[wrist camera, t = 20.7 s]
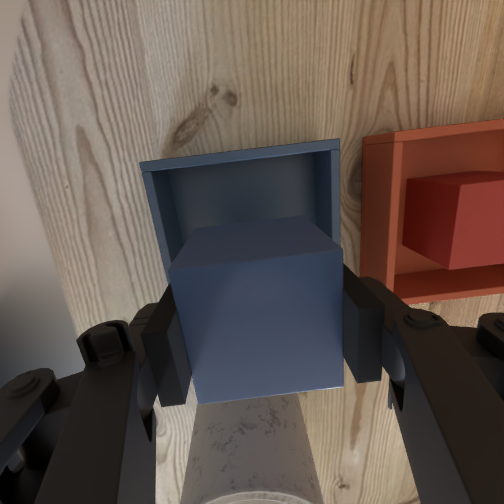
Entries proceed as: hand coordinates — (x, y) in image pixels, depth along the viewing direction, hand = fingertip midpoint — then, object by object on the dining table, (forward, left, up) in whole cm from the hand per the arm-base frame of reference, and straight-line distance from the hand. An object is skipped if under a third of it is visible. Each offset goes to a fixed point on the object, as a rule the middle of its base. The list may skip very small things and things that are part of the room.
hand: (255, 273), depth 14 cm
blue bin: (0, 0, -9) cm, 9 cm away
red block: (0, +15, -8) cm, 18 cm away
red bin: (0, +15, -9) cm, 18 cm away
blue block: (0, 0, 0) cm, 0 cm away
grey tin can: (+16, -2, -9) cm, 18 cm away
